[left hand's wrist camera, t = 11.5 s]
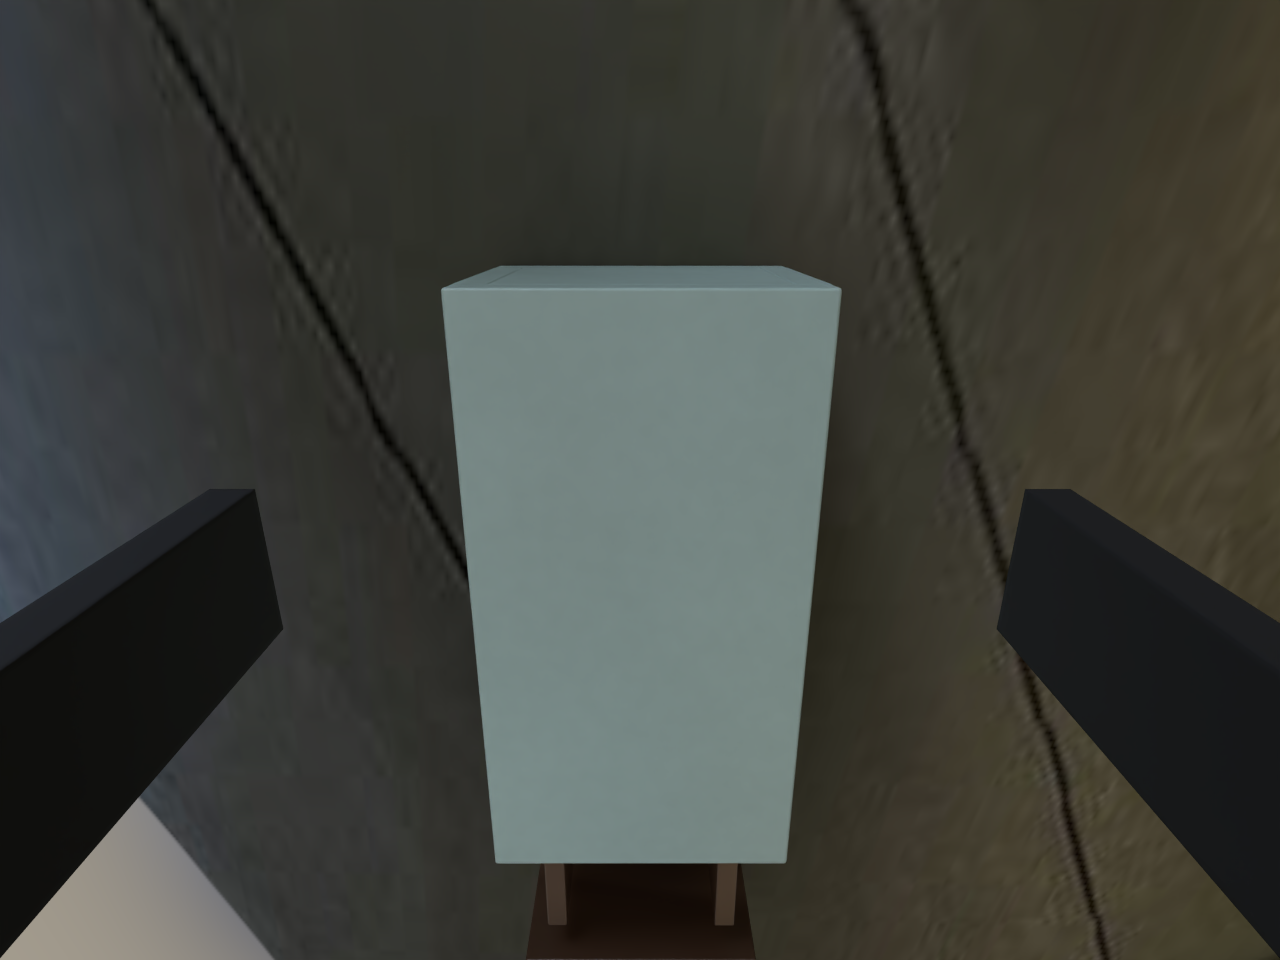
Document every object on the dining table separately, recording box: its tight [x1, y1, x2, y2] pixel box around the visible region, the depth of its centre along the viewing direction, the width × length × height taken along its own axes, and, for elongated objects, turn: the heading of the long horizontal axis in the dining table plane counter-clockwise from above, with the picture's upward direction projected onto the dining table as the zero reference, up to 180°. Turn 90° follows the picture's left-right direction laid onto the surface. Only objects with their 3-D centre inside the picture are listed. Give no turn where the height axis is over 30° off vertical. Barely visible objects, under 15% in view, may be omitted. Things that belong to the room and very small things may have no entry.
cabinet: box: [441, 266, 842, 863], centre depth 26 cm, size 20×11×8 cm, turn 0°
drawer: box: [526, 863, 756, 960], centre depth 30 cm, size 25×10×6 cm, turn 0°
